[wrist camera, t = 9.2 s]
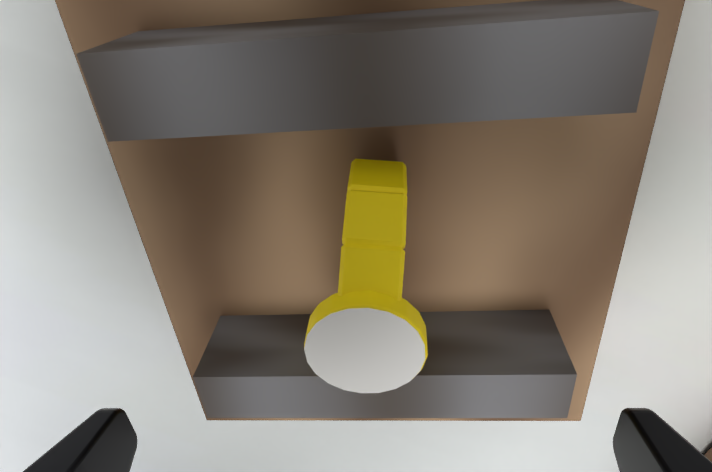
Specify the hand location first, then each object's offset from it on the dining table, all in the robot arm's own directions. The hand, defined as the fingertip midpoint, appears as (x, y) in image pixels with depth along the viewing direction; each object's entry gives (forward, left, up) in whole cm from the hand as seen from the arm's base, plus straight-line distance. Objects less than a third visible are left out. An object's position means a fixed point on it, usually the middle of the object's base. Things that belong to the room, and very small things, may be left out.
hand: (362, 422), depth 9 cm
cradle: (0, 0, -9) cm, 9 cm away
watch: (0, 0, -8) cm, 8 cm away
